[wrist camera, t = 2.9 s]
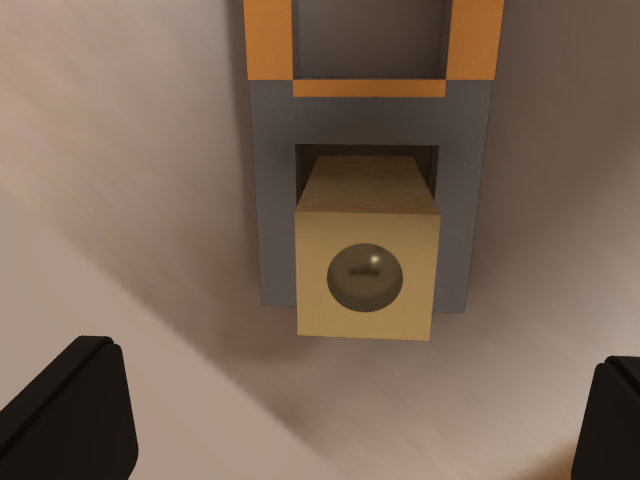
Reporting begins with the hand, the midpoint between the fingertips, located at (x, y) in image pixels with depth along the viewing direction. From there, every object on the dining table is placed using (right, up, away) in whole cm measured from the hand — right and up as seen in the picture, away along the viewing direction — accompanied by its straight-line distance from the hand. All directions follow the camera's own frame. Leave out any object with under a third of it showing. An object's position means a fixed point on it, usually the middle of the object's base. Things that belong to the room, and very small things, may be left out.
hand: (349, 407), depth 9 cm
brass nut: (+1, +5, +12) cm, 13 cm away
